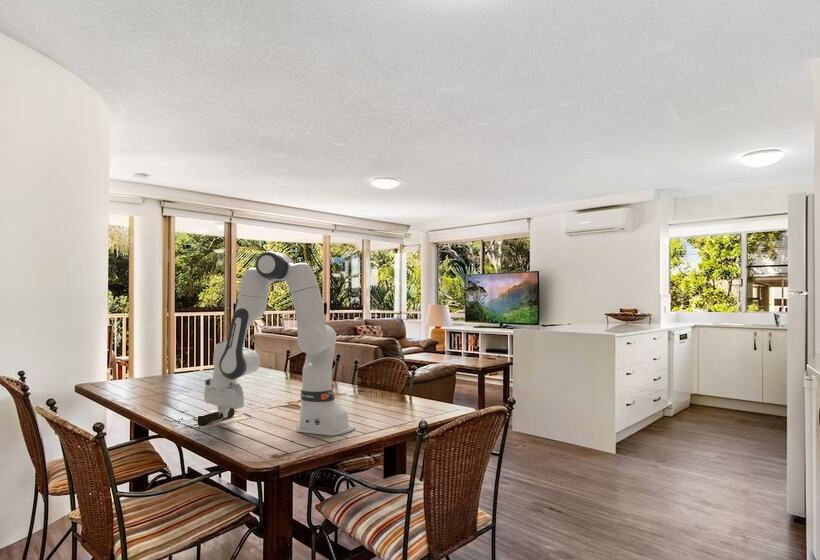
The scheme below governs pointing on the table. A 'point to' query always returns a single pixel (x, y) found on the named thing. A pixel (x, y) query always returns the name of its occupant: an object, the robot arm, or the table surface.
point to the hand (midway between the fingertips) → (223, 417)
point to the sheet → (221, 420)
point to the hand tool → (213, 417)
